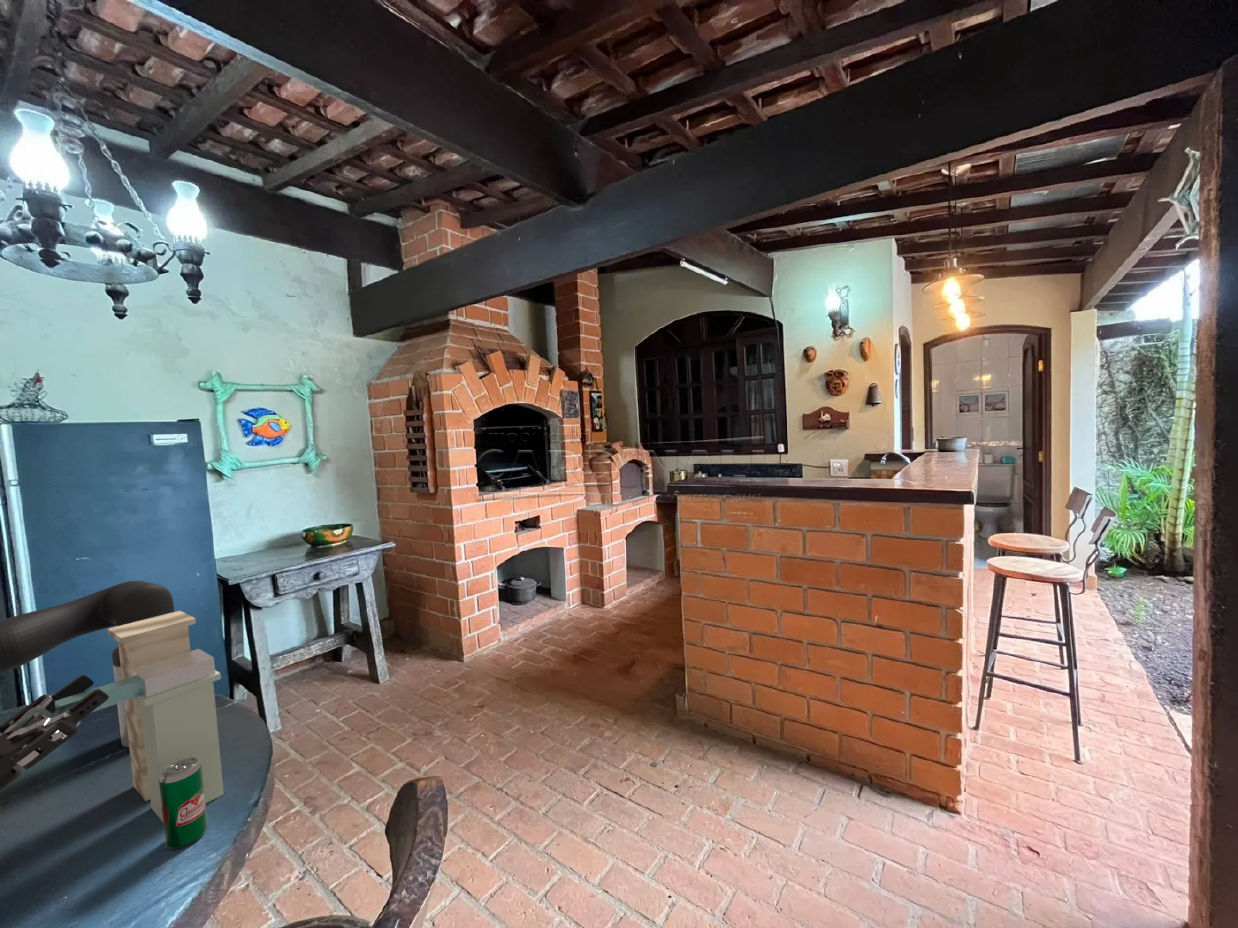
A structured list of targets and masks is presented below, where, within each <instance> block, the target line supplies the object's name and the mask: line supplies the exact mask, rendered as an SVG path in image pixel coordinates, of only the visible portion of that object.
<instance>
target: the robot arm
mask: <svg viewBox="0 0 1238 928" xmlns="http://www.w3.org/2000/svg"><path fill="white" fill-rule="evenodd" d="M174 604H175V603H174V599H173V596H172V593H171V592H170V590H169V589H168V588H167V587H166V586H163V585H161V584H159V583H154V582H149V581H144V580H128V581H124V582H122V583H117V584H115V585H111V586H109V587H107V588H105V589H102V590H98V591H96V592H93V593H91V594H88V595H85V596H82V597H80V598H77V599H74V600H71V601H69V602H68V601H67V602H65V603H63V604H58V605H55V606H51V607H50V606H49V607H47V608H43V609H38V610H34V611H30V612H26V613H22V614H18V615H14V616H11V617H7V618H3V619H0V675H1V674H4V673H7V672H10V671H12V670H15V669H17V668H20V667H21V666H24V665H26V664H28V663H30V662H32V661H34V660H35V659H37V658H39V657H41V656H43V655H45V654H46V653H48V652H50V651H51V650H53V649H55V648H57V647H59V646H60V645H62V644H64V643H66V642H68V641H71V640H73V639H75V638H78V637H80V636H81V637H82V636H84V635H87V634H90V633H94V632H97V631H100V630H105V629H109V628H113V627H117V626H121V625H125V624H129V623H133V622H137V621H141V620H145V619H149V618H153V617H156V616H160V615H164V614H168V613H172V612H175V605H174ZM111 658H112V659H111V661H112V669H113V678H114V682H116V681H120V680H122V674H121V665H120V656H119V646H118V645H117V647H115V648H114V649H113V650H112V653H111ZM94 684H95V682H94V681H93V680H92V679H91V678H90V677H89V676H87V675H86V674H81V675H79V676H77V677H76V678H75V679H74V680H72V681H71V682H70V683H68V684H67V685H65V686H64V687H63V688H61V689H59V690H58V691H57V692H55V693H51V694H49V695H47V694H46V693H45V694H41V695H40V696H39V697H37V698H36V699H35V700H33V701H32V702H31V703H29V704H28V705H27V706H25V707H24V708H22V709H21V710H20V711H18V712H17V713H15V714H14V715H12V716H11V717H10V718H9V719H7V720H6V721H4V723H2V724H0V792H1V791H3V790H4V789H5V788H6V787H8V786H9V785H10V784H12V783H13V782H14V781H16V780H17V779H18V778H19V777H21V775H22V770H21V768H23V769H25V770H30V769H31V768H32V767H34V766H35V765H36V764H37V763H39V762H40V761H42V760H43V759H44V758H45V757H48V755H50V754H51V753H52V752H53V751H55V750H56V749H57V748H59V747H60V746H62V745H63V744H64V743H65V742H67V741H68V740H69V739H71V738H73V736H75V735H76V734H77V733H78V732H79V730H80V729H79V727H78V726H80V725H81V723H82V721H81V720H83V719H84V718H86V717H88V716H89V714H91V712H92V711H93V710H95V709H96V708H97V707H99V706H100V705H101V704H103V703H104V702H105V701H106V700H108V698H109V696H108V695H107V694H106V693H104V692H103V691H102V690H100V689H95V690H93V691H92V692H91V693H89V694H88V695H87V696H85V697H84V698H83V699H81V700H80V701H79V702H77V703H76V704H75V705H73V706H72V707H71V708H69V709H68V711H69V713H68V712H64V713H62V714H60V715H58V716H56V709H55V701H57V700H60V699H63V698H66V697H69V696H73V695H76V694H79V693H82V692H85V691H88V689H90V688H91V687H92V686H93V685H94ZM116 705H117V715H118V723H119V733H120V742H121V746H123V747H125V748H129V738H128V729H127V720H126V711H125V702H121V703H118V704H116ZM92 713H93V712H92Z"/></svg>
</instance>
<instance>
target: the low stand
mask: <svg viewBox="0 0 1238 928" xmlns="http://www.w3.org/2000/svg"><path fill="white" fill-rule="evenodd" d="M221 679H222V675H221V672H220V671H217V670H216V669H215V674H214V675H211V676H209V677H206V678H203V679H200V680H197V681H194V682H191V683H189V684H186V685H183V686H180V687H177V688H174V689H172V690H169V691H166V692H163V693H160V694H157V695H155V696H152V697H149V698H146V697H145V696H144V695H141V696H138V697H135V698H136V699H137V700H139V701H140V706H141V715H142V724H143V734H144V743H145V753H146V762H147V772H148V781H149V790H150V806H151V807H150V808H151V810H152V811H153V812H154V813H155V815H157V817H158V818H159V819H160V821H161V822H162V823H163V816H162V806H161V797H160V787H159V779H160V777H161V775H162V774H161V773H162V771H163V769H164V768H165V767H167V766H168V765H170V764H172V763H173V762H176V761H178V760H181V759H184V758H190V757H194V758H197V759H198V762H199V763H201V765H202V775H203V785H204V796H205V805H206V804H208V803H210V802H211V801H214V800H216V799H218V798H220V797H222V796H224V795H225V793H224V783H223V772H222V763H221V753H220V752H221V751H220V741H219V739H220V738H219V730H218V729H219V728H218V719H217V707H216V697H215V688H214V686H215V685H214V682H217V681H219V680H221Z"/></svg>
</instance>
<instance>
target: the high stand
mask: <svg viewBox="0 0 1238 928" xmlns="http://www.w3.org/2000/svg"><path fill="white" fill-rule="evenodd" d="M196 623H197V621H196V618H195V617H194V616H192V615H189V614H188V613H186V612H184V611H182V610H177V611H174V612H172V613H168V614H164V615H160V616H156V617H153V618H149V619H145V620H141V621H137V622H133V623H129V624H125V625H121V626H113V627H109V628H107V633H108V636H110V637H111V638H113V639H114V640H116V642H117V643H118V645H117V647H118V646H119V656H120V665H121V674H122V680H123V679H126V678H129V677H132V669H135V668H138V667H141V666H144V665H148V664H151V663H154V662H157V661H161V660H164V659H167V658H170V657H173V656H177V655H180V654H183V653H186V652H190V651H191V643H190V642H191V641H190V634H189V633H190V632H189V627H190V626H192V625H195V624H196ZM124 702H125V711H126V720H127V729H128V738H129V747H128V748H129V754H130V755H129V756H130V763H131V764H130V765H131V773H132V782H133V785H132V786H133V788H134V789H135V790H136V791H137V792H138V793H139V795H140V796H141V797H142V799H143V800H144V801H145V802H147V801H149V800H150V790H149V781H148V772H147V762H146V753H145V743H144V734H143V724H142V715H141V706H140V701H139V700H137V699H136V698H132V699H129V700H127V701H124ZM150 801H151V800H150Z"/></svg>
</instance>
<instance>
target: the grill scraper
mask: <svg viewBox="0 0 1238 928" xmlns="http://www.w3.org/2000/svg"><path fill="white" fill-rule="evenodd" d="M215 670H216V666H215V657H214V656H212V655H210V654H209V653H207V652H205V651H204V650H202V649H201V648H197V649H193V650H190V652H186V653H183V654H180V655H177V656H173V657H170V658H167V659H164V660H161V661H157V662H154V663H151V664H148V665H144V666H141V667H138V668H135V669H132V677H129V678H126V679H123V680H120V681H116V682H115V681H113V682H110V683H107V684H105V685H104V684H103V685H100V686H99V687H98V686H97V687H94V688H91V689H89V690H88V689H87V690H85V691H84V692H82V693H79V694H76V695H73V696H69V697H66V698H63V699H60V700H57V701H55V709H56V716H58V715H60V714H62V713H64V712H68V713H69V711H68V709H69V708H71V707H72V706H73V705H75V704H76V703H77V702H79V701H80V700H81V699H83V698H84V697H85V696H87V695H88V694H89V693H91V692H92V691H93V690H95V689H100V690H102V691H103V692H104V693H106V694H107V695H108V696H109V698H108V700H106V701H105V702H104V703H103V704H101V705H100V706H99V707H97V708H96V709H95V710H93V711H92V712H91V713H95V712H97V711H100V710H103V709H106V708H108V707H111V706H114V705H117V704H118V703H121V702H124V701H127V700H129V699H132V698H135V697H138V696H141V695H144V696H145V697H146V698H149V697H152V696H155V695H157V694H160V693H163V692H166V691H169V690H172V689H174V688H177V687H180V686H183V685H186V684H189V683H191V682H194V681H197V680H200V679H203V678H206V677H209V676H211V675H214V674H215ZM91 713H90V714H91Z"/></svg>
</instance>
